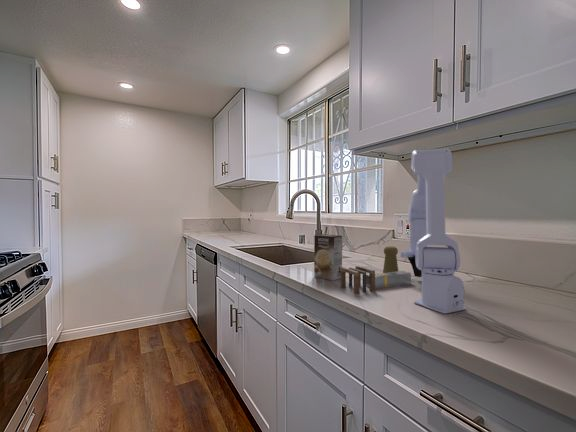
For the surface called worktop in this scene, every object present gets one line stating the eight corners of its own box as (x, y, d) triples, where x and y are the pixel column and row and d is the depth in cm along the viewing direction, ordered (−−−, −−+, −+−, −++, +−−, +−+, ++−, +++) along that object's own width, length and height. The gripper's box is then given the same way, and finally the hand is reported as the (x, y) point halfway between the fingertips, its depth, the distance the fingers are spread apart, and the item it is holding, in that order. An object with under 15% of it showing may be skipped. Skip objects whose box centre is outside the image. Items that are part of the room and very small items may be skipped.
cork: (396, 276, 110) (396, 248, 110) (380, 274, 114) (380, 246, 114) (400, 274, 115) (400, 246, 115) (385, 272, 119) (385, 245, 118)
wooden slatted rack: (375, 291, 91) (375, 270, 91) (356, 293, 88) (356, 272, 88) (358, 284, 99) (358, 265, 99) (340, 287, 96) (340, 267, 96)
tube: (402, 281, 104) (402, 270, 103) (410, 283, 100) (410, 272, 100) (366, 286, 97) (366, 274, 97) (373, 289, 94) (373, 276, 94)
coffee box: (313, 277, 111) (313, 235, 110) (322, 274, 115) (322, 233, 115) (333, 280, 105) (333, 236, 104) (343, 277, 109) (342, 235, 109)
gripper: (423, 236, 110) (423, 272, 111) (394, 238, 104) (394, 276, 105) (440, 238, 104) (440, 276, 104) (409, 240, 98) (409, 280, 98)
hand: (418, 276), depth 104 cm, fingers closed
